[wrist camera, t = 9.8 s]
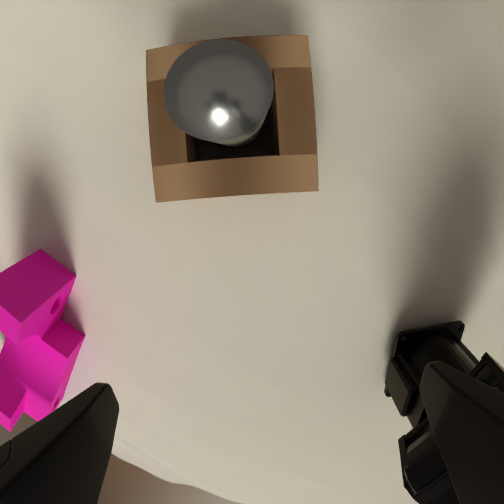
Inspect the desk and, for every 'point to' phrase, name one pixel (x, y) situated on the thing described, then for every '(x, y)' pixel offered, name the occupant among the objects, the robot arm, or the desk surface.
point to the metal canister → (219, 92)
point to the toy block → (35, 338)
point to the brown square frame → (248, 167)
